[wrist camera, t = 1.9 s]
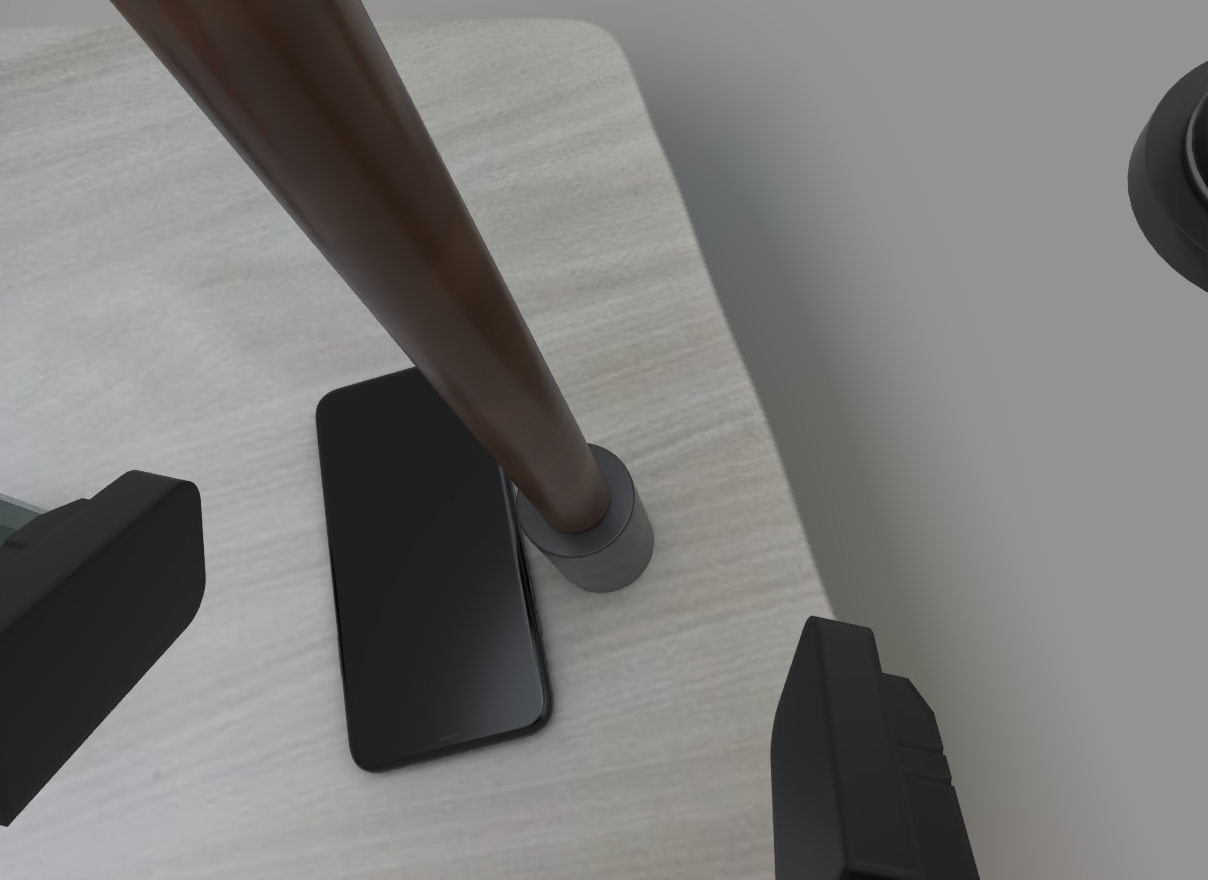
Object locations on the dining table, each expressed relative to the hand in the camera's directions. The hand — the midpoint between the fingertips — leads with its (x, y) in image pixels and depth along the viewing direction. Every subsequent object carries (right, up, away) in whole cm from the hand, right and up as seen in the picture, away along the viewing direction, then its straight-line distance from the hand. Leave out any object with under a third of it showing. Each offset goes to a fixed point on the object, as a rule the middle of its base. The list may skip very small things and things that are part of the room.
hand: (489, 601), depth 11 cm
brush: (+1, -2, +23) cm, 23 cm away
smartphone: (-6, -2, +24) cm, 25 cm away
